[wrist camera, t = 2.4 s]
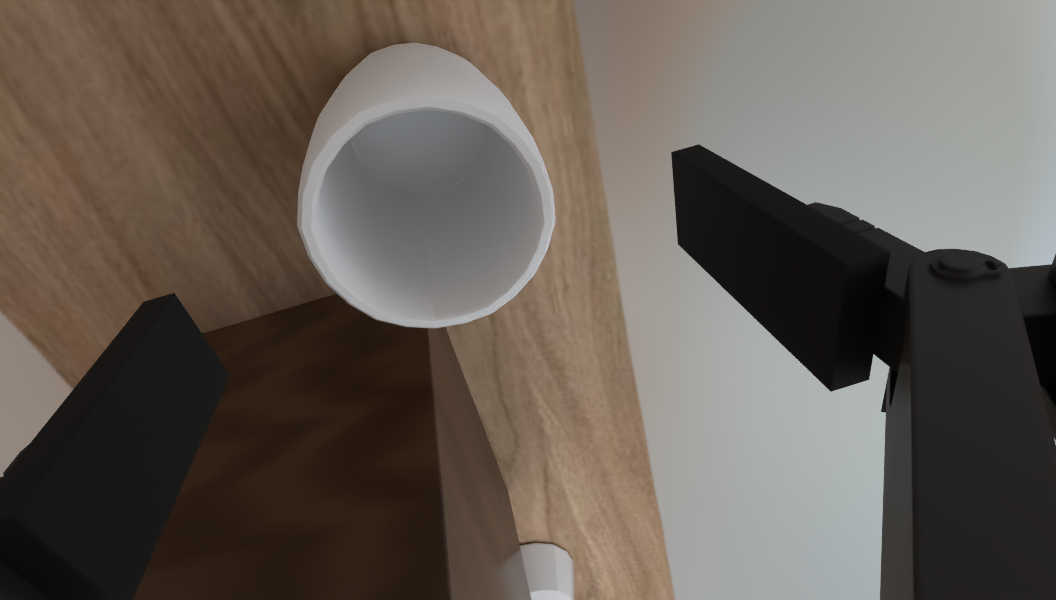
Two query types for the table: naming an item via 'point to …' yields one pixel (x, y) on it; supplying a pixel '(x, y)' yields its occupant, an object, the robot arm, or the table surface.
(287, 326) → the box
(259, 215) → the table surface
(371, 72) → the cup
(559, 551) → the inkwell
